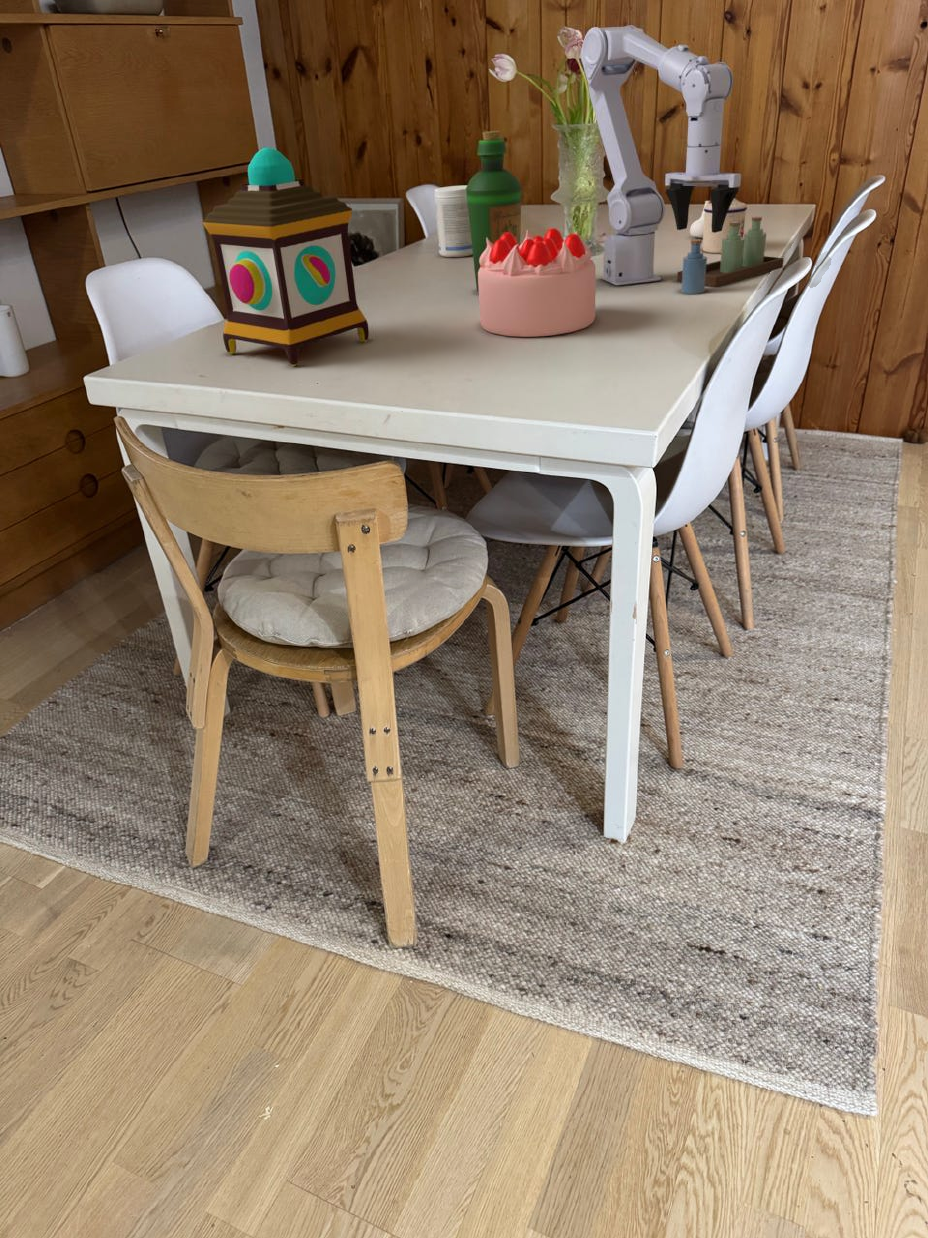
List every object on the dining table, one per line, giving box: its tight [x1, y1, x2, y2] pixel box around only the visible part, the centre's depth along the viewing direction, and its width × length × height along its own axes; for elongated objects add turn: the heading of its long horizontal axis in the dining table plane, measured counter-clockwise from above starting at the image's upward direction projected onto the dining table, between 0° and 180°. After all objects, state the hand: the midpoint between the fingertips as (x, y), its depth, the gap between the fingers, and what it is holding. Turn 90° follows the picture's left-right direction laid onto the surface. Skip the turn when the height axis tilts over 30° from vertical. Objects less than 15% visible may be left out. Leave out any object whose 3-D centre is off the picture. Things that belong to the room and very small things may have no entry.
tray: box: [676, 255, 785, 288], centre depth 178 cm, size 21×9×2 cm, turn 129°
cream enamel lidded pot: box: [701, 197, 748, 254], centre depth 199 cm, size 12×9×12 cm
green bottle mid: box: [720, 222, 745, 273], centre depth 176 cm, size 4×4×9 cm
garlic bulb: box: [689, 200, 711, 239], centre depth 214 cm, size 6×6×8 cm
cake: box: [478, 227, 597, 338], centre depth 152 cm, size 20×20×14 cm
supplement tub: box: [434, 184, 473, 258], centre depth 214 cm, size 10×10×15 cm
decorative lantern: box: [202, 146, 370, 367], centre depth 144 cm, size 20×20×30 cm
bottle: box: [466, 130, 522, 293], centre depth 172 cm, size 11×11×28 cm
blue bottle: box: [680, 238, 708, 295], centre depth 166 cm, size 4×4×9 cm
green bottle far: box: [742, 215, 767, 267], centre depth 180 cm, size 4×4×9 cm
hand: (699, 230), depth 163 cm, fingers open, 7 cm apart
